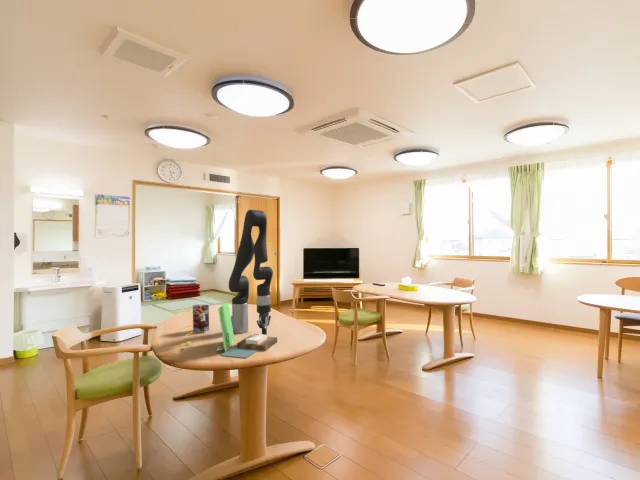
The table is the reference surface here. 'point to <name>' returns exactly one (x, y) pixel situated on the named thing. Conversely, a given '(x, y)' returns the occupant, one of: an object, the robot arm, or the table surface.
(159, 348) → the table surface
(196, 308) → the supplement box
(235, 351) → the mat
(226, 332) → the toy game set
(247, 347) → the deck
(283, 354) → the table surface
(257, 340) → the tile
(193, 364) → the table surface
